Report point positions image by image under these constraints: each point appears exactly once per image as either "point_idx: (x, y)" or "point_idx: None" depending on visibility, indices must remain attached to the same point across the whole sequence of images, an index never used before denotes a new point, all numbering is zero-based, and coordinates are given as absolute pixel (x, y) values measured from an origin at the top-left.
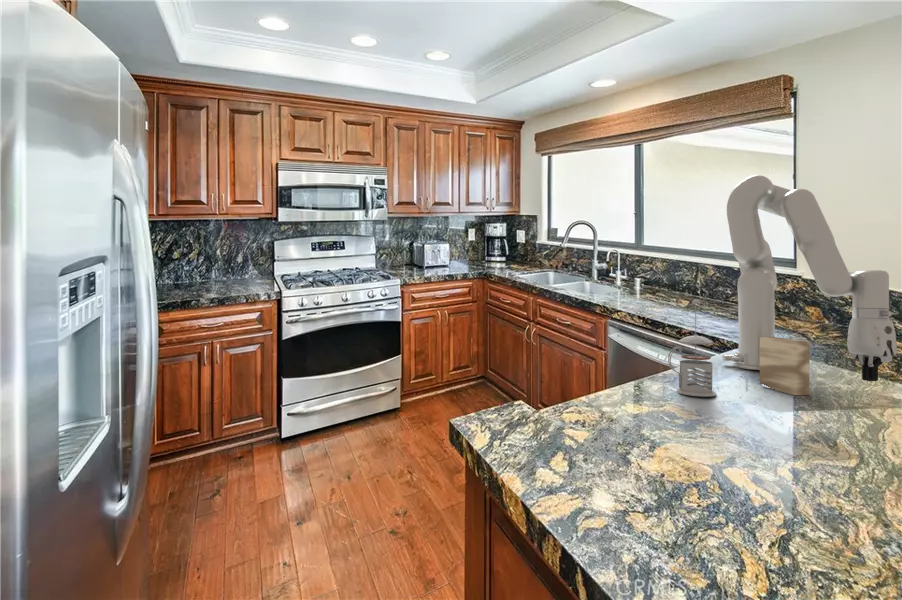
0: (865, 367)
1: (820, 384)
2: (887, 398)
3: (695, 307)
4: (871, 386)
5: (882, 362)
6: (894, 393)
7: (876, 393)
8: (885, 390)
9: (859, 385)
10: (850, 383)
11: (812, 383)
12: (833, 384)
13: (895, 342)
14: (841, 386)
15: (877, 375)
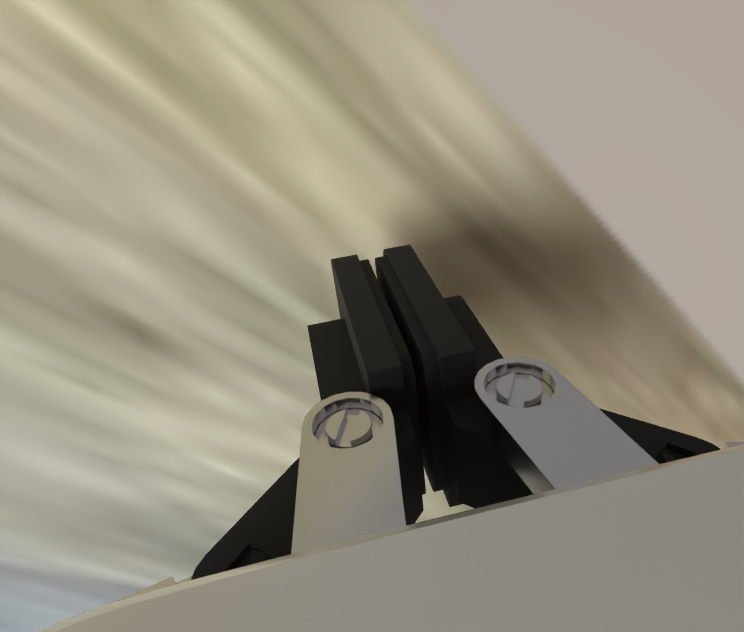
0: (422, 485)
1: (200, 552)
2: (726, 422)
3: None
4: (259, 180)
5: (666, 445)
6: (623, 246)
7: (587, 384)
8: (493, 213)
9: (204, 271)
10: (65, 283)
11: (157, 582)
12: (181, 469)
13: None
14: (286, 458)
15: (466, 312)
